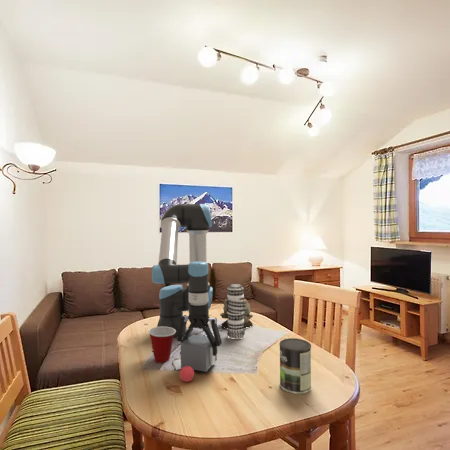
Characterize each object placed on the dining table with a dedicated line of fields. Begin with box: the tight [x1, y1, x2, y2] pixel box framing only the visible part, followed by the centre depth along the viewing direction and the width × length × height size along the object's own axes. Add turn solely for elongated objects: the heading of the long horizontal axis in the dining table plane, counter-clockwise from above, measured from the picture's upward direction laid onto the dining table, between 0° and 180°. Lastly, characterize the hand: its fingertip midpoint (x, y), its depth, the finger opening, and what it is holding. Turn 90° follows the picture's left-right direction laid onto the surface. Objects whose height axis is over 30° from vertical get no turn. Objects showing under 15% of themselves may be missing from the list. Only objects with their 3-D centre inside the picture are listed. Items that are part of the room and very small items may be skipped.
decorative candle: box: [225, 283, 246, 340], centre depth 151 cm, size 9×9×25 cm
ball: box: [179, 366, 195, 383], centre depth 108 cm, size 5×5×5 cm
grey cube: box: [180, 334, 218, 373], centre depth 119 cm, size 10×10×9 cm
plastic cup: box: [148, 326, 176, 364], centre depth 126 cm, size 11×11×12 cm
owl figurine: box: [219, 298, 254, 329], centre depth 168 cm, size 18×12×17 cm, turn 108°
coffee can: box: [278, 337, 312, 395], centre depth 104 cm, size 10×10×14 cm
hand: (199, 361), depth 119 cm, fingers closed on grey cube, 10 cm apart
